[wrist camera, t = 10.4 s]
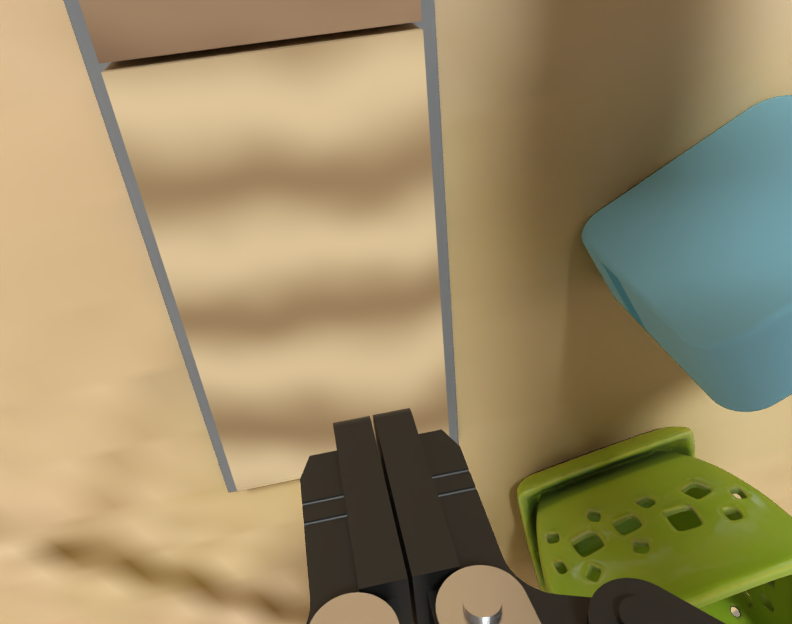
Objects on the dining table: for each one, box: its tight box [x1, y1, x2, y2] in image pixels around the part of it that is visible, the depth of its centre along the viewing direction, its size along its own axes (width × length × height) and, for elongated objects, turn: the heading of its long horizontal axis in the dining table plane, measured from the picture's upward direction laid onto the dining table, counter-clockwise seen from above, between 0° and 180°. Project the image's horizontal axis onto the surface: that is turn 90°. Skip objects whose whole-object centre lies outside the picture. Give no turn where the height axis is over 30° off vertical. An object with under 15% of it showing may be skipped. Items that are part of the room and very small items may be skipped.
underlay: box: [63, 0, 459, 492], centre depth 29 cm, size 35×14×1 cm, turn 5°
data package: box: [582, 95, 792, 412], centre depth 29 cm, size 12×4×12 cm, turn 124°
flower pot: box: [517, 427, 792, 624], centre depth 40 cm, size 14×14×13 cm
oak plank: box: [101, 23, 449, 491], centre depth 31 cm, size 22×12×2 cm, turn 5°
